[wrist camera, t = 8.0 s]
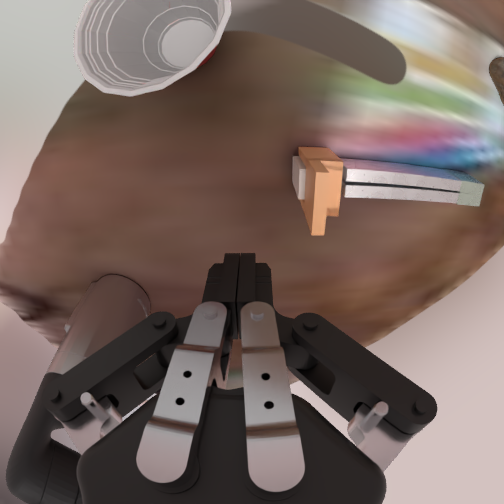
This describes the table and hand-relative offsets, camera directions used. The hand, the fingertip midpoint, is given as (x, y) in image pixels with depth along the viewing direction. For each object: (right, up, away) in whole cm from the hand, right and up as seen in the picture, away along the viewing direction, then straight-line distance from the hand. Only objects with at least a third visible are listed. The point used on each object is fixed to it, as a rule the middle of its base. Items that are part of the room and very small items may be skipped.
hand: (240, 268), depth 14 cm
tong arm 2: (+18, +10, +13) cm, 24 cm away
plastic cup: (-6, +21, +7) cm, 23 cm away
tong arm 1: (+18, +9, +13) cm, 24 cm away
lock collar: (+7, +9, +13) cm, 17 cm away
